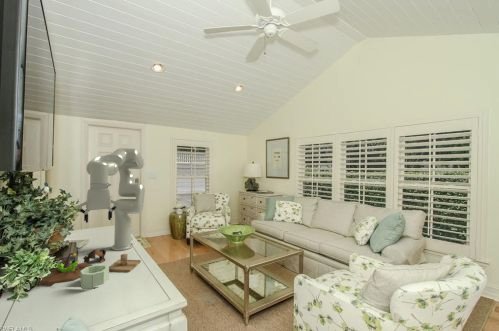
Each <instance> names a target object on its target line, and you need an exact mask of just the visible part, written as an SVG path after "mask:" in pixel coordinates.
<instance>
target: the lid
mask: <svg viewBox="0 0 499 331" xmlns="http://www.w3.org/2000/svg"><path fill="white" fill-rule="evenodd" d="M140 263H141V260H140V259H128V254H127V253H123V254H120V259H117V260H116V261H115V262H113V263H111V265H109V266H108V267H109V273H110V272H111V273H112V272H114V273H130V272H132V269H133V270H134V269H135V268H136V267H138V266H139V264H140Z"/></svg>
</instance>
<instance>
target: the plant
mask: <svg viewBox="0 0 499 331" xmlns="http://www.w3.org/2000/svg"><path fill="white" fill-rule="evenodd" d="M76 255H77V253H74V252H70V253H69V254H68V256H67V257H66V258H64V257H63V256H58V257H56V258H55V260H56V262H57V260H58V261H59V260H60V259H61V261H60V262H58V264H57V265H55V266H56V268H58V270H57V269H56V270H51V274H50V275H49V276H47V277H45V278H43V279H42V280H41V281H40V284H39V286H48V287H52V286H53V285H55V284H59V283H68V282H69V283H70V282H73V281H76V280H78V279H80V271H81V270H83V269H84V268H86V267H89V266H93V265H94V264H90V263H86V262H85V263H84V262H83V263H82V262H81V263H79V262H80V260H76V261H75V262H73V261H72V260H70V257H71V256H72V257H76ZM69 261H70V262H69ZM63 263H64V264H63ZM60 266H61V267H60Z"/></svg>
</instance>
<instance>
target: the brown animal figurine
mask: <svg viewBox="0 0 499 331" xmlns="http://www.w3.org/2000/svg"><path fill="white" fill-rule="evenodd" d="M106 254H107V250H106V249H104V248H102V249H99V250H97V249H93V250H92V251H90V252H89V253H87V255H84V257H83V258H82V259H83V263H85V264H89V263H90V259H92V260H95V259H96V258H97V257H99V259H101V260H100V261H99V263H100V264H102V263H104V262H105V261H106V258H105V256H106ZM96 256H97V257H96Z"/></svg>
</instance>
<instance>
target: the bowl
mask: <svg viewBox="0 0 499 331" xmlns="http://www.w3.org/2000/svg"><path fill="white" fill-rule="evenodd" d="M92 265H93V266H89V267H86V268H84V269H83V270H81V271H80V278H79V285H81V286H80V287H81V289H82V290H95V289H97V288H99V286H101V285H104V284H105V283H106V282H108V281H109V278H110V272H109V266H108V264H101V263H100V264H92Z"/></svg>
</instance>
